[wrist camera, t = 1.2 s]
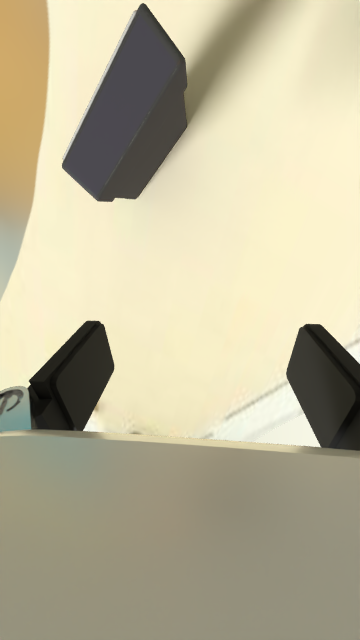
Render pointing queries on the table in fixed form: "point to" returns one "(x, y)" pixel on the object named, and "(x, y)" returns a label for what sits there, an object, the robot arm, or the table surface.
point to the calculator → (131, 113)
